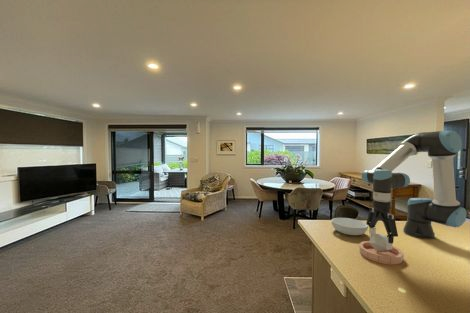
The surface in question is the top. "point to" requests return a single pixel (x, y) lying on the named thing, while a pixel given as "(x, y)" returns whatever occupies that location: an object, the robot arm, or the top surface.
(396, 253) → the tray
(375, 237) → the die
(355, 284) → the top surface
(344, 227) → the serving bowl
